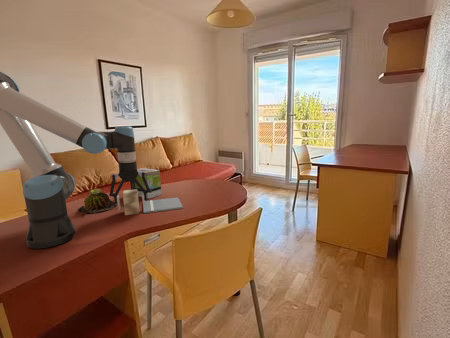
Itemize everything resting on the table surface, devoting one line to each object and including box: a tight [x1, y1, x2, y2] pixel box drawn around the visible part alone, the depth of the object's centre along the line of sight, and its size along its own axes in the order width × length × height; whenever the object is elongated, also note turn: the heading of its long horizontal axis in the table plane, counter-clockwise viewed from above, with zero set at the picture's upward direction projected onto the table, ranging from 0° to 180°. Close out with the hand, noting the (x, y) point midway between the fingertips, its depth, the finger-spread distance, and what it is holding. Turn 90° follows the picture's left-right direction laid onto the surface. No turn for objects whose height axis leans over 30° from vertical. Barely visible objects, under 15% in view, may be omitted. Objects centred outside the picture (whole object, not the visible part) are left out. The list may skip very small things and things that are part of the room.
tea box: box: [129, 167, 162, 200], centre depth 138 cm, size 15×10×15 cm, turn 58°
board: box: [142, 197, 184, 214], centre depth 121 cm, size 18×16×1 cm
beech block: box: [122, 189, 140, 216], centre depth 112 cm, size 6×6×10 cm
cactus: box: [77, 188, 117, 214], centre depth 119 cm, size 17×16×10 cm
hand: (131, 208), depth 113 cm, fingers open, 10 cm apart
